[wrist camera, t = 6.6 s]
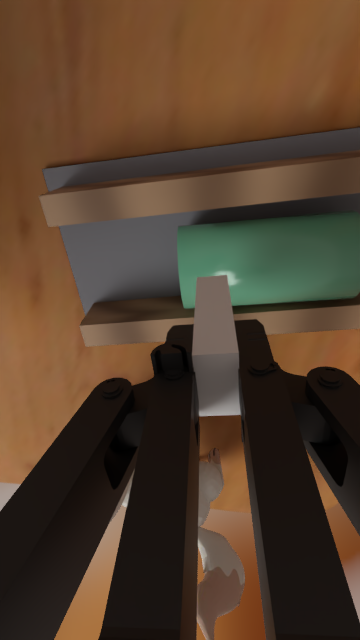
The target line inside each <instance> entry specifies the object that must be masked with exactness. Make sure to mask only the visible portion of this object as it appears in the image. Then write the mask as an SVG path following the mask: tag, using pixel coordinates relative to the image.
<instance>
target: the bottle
mask: <svg viewBox="0 0 360 640" xmlns="http://www.w3.org/2000/svg"><path fill="white" fill-rule="evenodd" d="M177 253H178V270H179V281H180V290H181V297H182V302H183V306H184V309H192V308H195V298H196V282H197V277H208V276H220V275H227V277H228V284H229V291H230V297H231V304H232V306H239V305H255V304H271V303H287V302H303V301H319V300H335V299H350V298H354V297H356V296H357V295H358V294H359V292H360V214H359V213H358V212H356V211H353V210H350V211H339V212H327V213H316V214H305V215H294V216H283V217H272V218H261V219H250V220H238V221H227V222H216V223H205V224H194V225H183V226H178V232H177Z"/></svg>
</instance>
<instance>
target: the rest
mask: <svg viewBox="0 0 360 640" xmlns="http://www.w3.org/2000/svg"><path fill="white" fill-rule="evenodd" d="M354 193H360V150H355V151H347V152H339V153H331V154H323V155H315V156H307V157H299V158H291V159H282V160H274V161H266V162H258V163H250V164H242V165H234V166H226V167H218V168H210V169H202V170H194V171H186V172H178V173H170V174H162V175H154V176H146V177H138V178H130V179H121V180H113V181H105V182H97V183H89V184H81V185H73V186H65V187H60V188H58V189H55V190H53V191H50V192H48V193H45V194H43V195H40V196H39V199H40V202H41V205H42V209H43V212H44V215H45V218H46V221H47V225H48V227H54V226H63V225H72V224H82V223H91V222H100V221H109V220H118V219H127V218H136V217H145V216H154V215H163V214H172V213H181V212H190V211H200V210H209V209H218V208H227V207H236V206H245V205H254V204H263V203H272V202H281V201H290V200H299V199H308V198H317V197H327V196H336V195H345V194H354ZM232 311H233V317H234V321H235V320H250V319H257V320H258V321H259V322H260V323H262V324H263V325H264V329H265V332H266V335H270V334H285V333H300V332H315V331H331V330H346V329H360V292H359V294H358V295H357V296H356V297H354V298H350V299H335V300H319V301H303V302H287V303H271V304H255V305H239V306H232ZM194 314H195V308H192V309H184V306H183V302H182V297H181V296H172V297H160V298H147V299H135V300H123V301H110V302H98V303H93V305H92V307H91V308H90V310H89V311H88V313H87V314H86V316H85V318H84V319H83V321H82V322H81V324H80V325H79V326H80V330H81V333H82V336H83V339H84V342H85V346H86V347H88V346H103V345H118V344H133V343H148V342H164V341H166V337H167V332H168V331H169V330H170V329H171V327H172V326H173V325H187V324H194Z"/></svg>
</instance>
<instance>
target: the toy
mask: <svg viewBox="0 0 360 640" xmlns="http://www.w3.org/2000/svg"><path fill="white" fill-rule="evenodd" d="M208 460H209V462H205V461H199V508H198V547H199V550H200V553H201V557H202V564H203V568H204V573H205V576H204V579H203V581H202V582H200V583H199V584H198V586H197V622H198V624H199V625H200V627H201V630H202V632H203V634H204V636H205V638H206V640H214V625H215V621H216V619H217V617H220V616H222V615H224V614H227V613H229V612H231V611H232V610H233V609H234V608H235V607H236V606H237V604H238V606H239V604H240V598H241V595H242V593H243V589H244V585H245V575H244V569H243V565H242V563H241V561H240V559H239V557H238V555H237V553H236V552H235V551H234V550H233V549H232V547H231V545H230V544H229V542H228V541H227V539H226V538H225V537H224V536H222V535H221V534H219V533H216V532H213V531H210V530H207V529H204V528H201V527H200V526H201V525H203V523H204V521H205V520H206V518H207V516H208V513H209V509H210V502H211V501H213V500H215V499H216V498H217V497H218V496H219V494H220V492H221V490H222V489H223V486H224V480H223V474H222V468H221V462H220V456H219V450H218V449H216V448H214V449H212V450H211V451H210V453H209V455H208ZM134 470H135V469H134ZM133 475H134V471H133V474H132V476H131V478H130V480H129V482H128V484H127V486H126V488H125V490H124V493H123V495H122V497H121V499H120V501H119V503H118V505H117V507H116V509H115V512H114V514H113V516H112V518H111V520H112V519H113V518H114V516H115V515H116V513H117V512H118V510H119V509H120V507H121V505H123V506H125V507H127V504H128V499H129V494H130V489H131V485H132V480H133ZM111 520H110V521H111Z"/></svg>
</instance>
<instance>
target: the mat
mask: <svg viewBox="0 0 360 640" xmlns="http://www.w3.org/2000/svg"><path fill="white" fill-rule="evenodd" d="M355 150H360V127H359V128H351V129H343V130H336V131H328V132H321V133H313V134H305V135H298V136H290V137H283V138H275V139H267V140H260V141H252V142H245V143H237V144H229V145H222V146H214V147H207V148H199V149H191V150H184V151H176V152H169V153H161V154H153V155H146V156H138V157H131V158H123V159H115V160H108V161H100V162H93V163H85V164H77V165H70V166H62V167H55V168H47V169H42V171H43V174H44V178H45V181H46V185H47V188H48V191H49V192H50V191H53V190H55V189H58V188H60V187H65V186H73V185H81V184H89V183H97V182H105V181H113V180H121V179H130V178H138V177H146V176H154V175H162V174H170V173H178V172H186V171H194V170H202V169H210V168H218V167H226V166H234V165H242V164H250V163H258V162H266V161H274V160H282V159H291V158H299V157H307V156H315V155H323V154H331V153H339V152H347V151H355ZM350 210H353V211H356V212H358V213H359V214H360V193H354V194H345V195H336V196H327V197H317V198H308V199H299V200H290V201H281V202H272V203H263V204H254V205H245V206H236V207H227V208H218V209H209V210H200V211H190V212H181V213H172V214H163V215H154V216H145V217H136V218H127V219H118V220H109V221H100V222H91V223H82V224H72V225H63V226H59V228H60V232H61V235H62V238H63V242H64V245H65V248H66V252H67V255H68V258H69V262H70V265H71V269H72V272H73V275H74V279H75V282H76V285H77V289H78V292H79V295H80V299H81V302H82V305H83V309H84V312H85V316H86V314H87V313H88V311H89V310H90V308H91V307H92V305H93V303H98V302H110V301H123V300H135V299H147V298H160V297H172V296H181V290H180V281H179V270H178V253H177V232H178V226H183V225H194V224H205V223H216V222H227V221H238V220H250V219H261V218H272V217H283V216H294V215H305V214H316V213H327V212H339V211H350Z"/></svg>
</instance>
